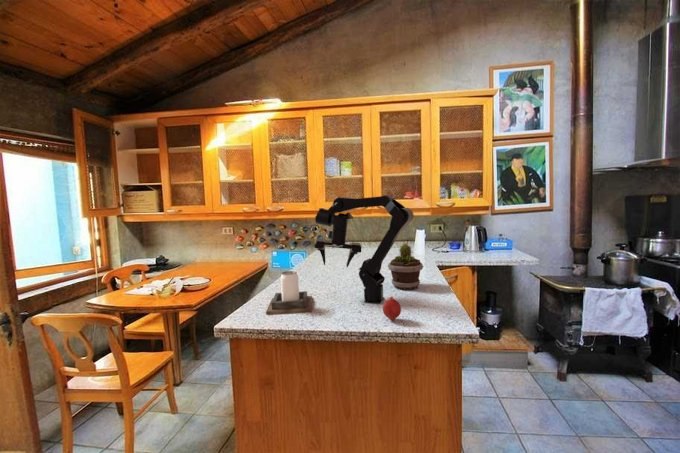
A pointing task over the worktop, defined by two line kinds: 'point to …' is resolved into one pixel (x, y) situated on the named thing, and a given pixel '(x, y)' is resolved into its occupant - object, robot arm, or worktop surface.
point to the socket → (290, 304)
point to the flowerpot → (405, 269)
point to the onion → (391, 309)
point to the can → (289, 286)
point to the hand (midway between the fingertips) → (335, 266)
